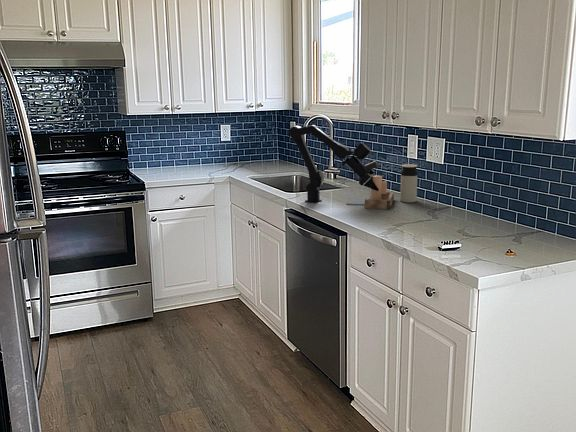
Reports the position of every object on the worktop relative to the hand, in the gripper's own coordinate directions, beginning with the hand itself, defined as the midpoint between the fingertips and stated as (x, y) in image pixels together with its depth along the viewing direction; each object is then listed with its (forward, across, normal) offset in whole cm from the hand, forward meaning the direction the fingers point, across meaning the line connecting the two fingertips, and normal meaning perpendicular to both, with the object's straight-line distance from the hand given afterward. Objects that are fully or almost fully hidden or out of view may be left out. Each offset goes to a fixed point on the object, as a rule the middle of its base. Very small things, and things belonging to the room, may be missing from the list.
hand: (378, 189), depth 276 cm
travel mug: (+15, +8, -5) cm, 18 cm away
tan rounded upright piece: (+5, 0, +5) cm, 7 cm away
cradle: (+5, 0, +5) cm, 7 cm away
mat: (-2, 0, +12) cm, 12 cm away
